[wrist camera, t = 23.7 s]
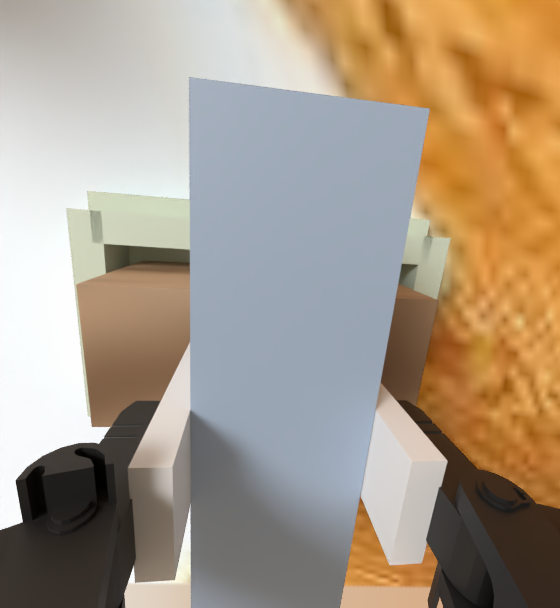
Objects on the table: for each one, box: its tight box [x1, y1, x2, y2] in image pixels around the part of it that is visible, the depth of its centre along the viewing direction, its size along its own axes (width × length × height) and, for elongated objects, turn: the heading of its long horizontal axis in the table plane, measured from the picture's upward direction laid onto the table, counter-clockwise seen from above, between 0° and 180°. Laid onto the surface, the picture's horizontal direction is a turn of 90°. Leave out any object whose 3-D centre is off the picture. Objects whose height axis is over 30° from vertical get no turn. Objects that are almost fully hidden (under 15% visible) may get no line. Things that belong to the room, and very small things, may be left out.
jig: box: [66, 191, 450, 416], centre depth 18 cm, size 13×20×4 cm, turn 86°
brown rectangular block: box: [76, 261, 438, 427], centre depth 16 cm, size 6×14×7 cm, turn 86°
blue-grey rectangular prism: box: [189, 77, 430, 608], centre depth 10 cm, size 16×4×5 cm, turn 176°
